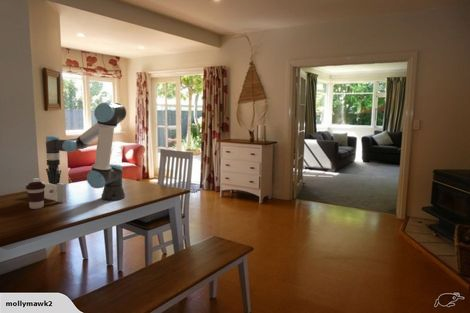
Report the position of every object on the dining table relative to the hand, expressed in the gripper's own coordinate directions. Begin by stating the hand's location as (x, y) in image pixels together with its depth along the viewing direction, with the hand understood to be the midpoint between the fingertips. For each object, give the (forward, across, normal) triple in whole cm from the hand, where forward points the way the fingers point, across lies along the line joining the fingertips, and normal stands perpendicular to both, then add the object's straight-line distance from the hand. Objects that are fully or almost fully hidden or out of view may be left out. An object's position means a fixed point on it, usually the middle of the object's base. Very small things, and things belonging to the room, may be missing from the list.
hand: (54, 194), depth 217 cm
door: (+2, -1, -4) cm, 5 cm away
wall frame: (+3, 0, -4) cm, 4 cm away
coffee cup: (+3, +10, -18) cm, 21 cm away
